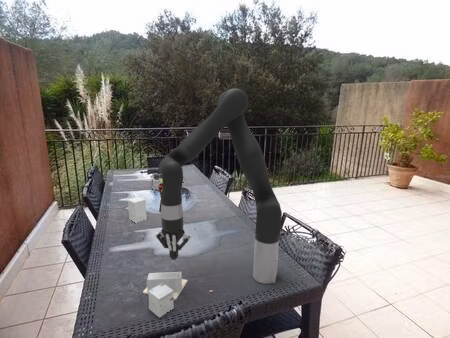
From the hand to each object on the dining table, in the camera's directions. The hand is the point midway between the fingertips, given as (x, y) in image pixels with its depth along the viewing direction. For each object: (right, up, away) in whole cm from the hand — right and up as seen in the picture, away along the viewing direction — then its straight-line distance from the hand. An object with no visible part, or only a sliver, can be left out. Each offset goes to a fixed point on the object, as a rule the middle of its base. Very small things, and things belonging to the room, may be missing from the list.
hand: (174, 258), depth 105 cm
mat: (-4, -12, +3) cm, 13 cm away
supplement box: (-31, +3, +59) cm, 67 cm away
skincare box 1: (+3, -9, +1) cm, 9 cm away
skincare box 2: (-3, -15, -8) cm, 17 cm away
